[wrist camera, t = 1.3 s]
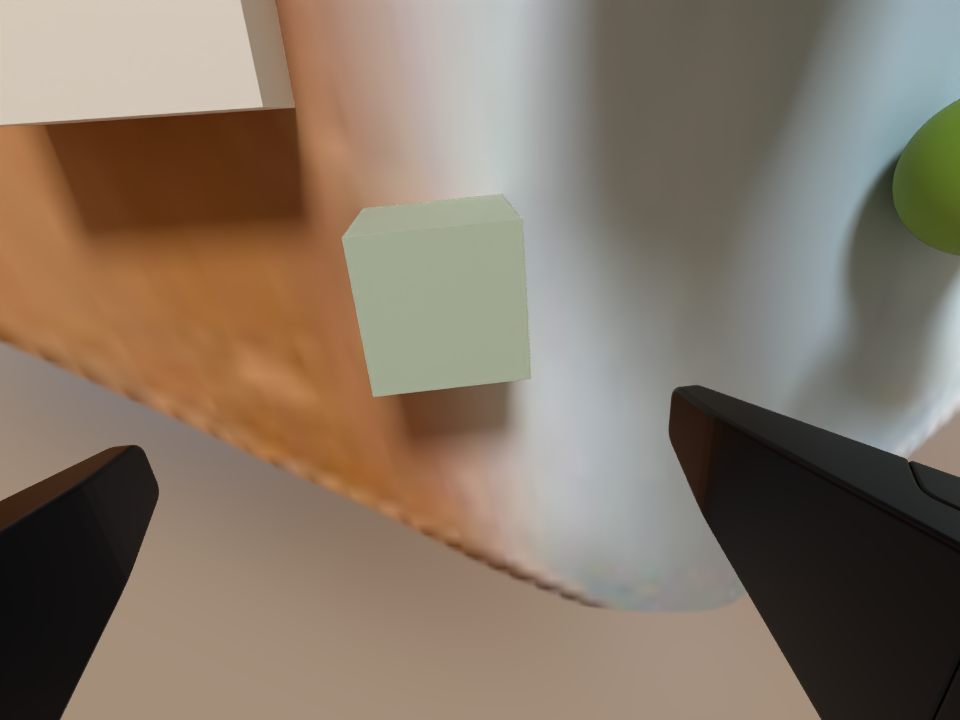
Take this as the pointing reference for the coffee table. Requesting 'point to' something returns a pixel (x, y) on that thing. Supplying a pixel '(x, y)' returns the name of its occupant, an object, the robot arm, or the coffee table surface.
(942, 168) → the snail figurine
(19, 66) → the base block
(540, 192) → the coffee table surface
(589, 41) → the coffee table surface
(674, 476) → the coffee table surface
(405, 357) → the green cube
